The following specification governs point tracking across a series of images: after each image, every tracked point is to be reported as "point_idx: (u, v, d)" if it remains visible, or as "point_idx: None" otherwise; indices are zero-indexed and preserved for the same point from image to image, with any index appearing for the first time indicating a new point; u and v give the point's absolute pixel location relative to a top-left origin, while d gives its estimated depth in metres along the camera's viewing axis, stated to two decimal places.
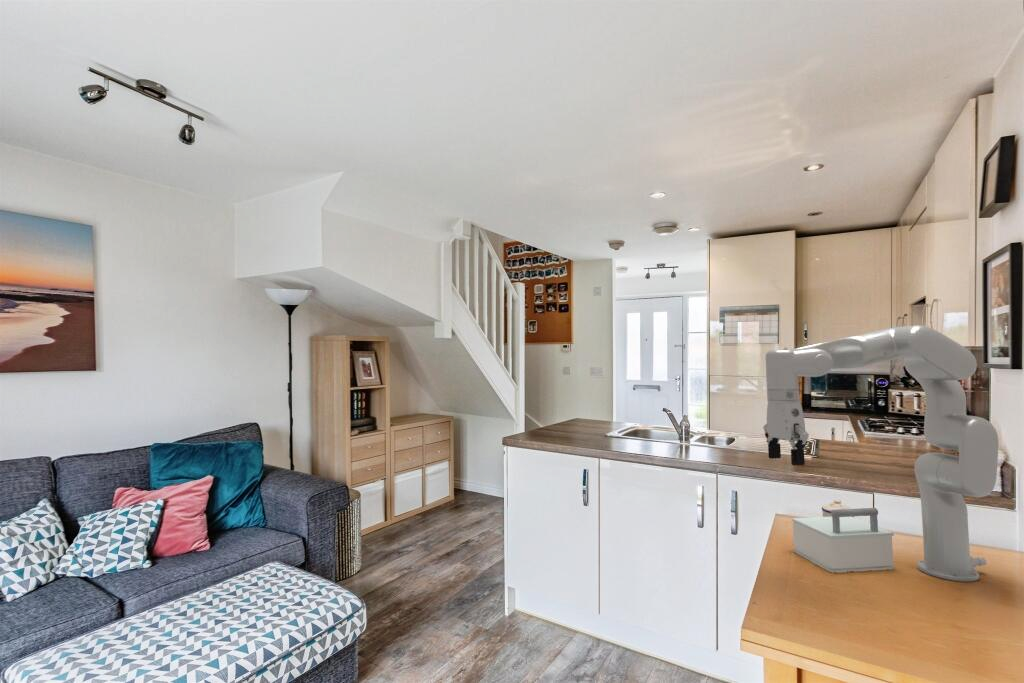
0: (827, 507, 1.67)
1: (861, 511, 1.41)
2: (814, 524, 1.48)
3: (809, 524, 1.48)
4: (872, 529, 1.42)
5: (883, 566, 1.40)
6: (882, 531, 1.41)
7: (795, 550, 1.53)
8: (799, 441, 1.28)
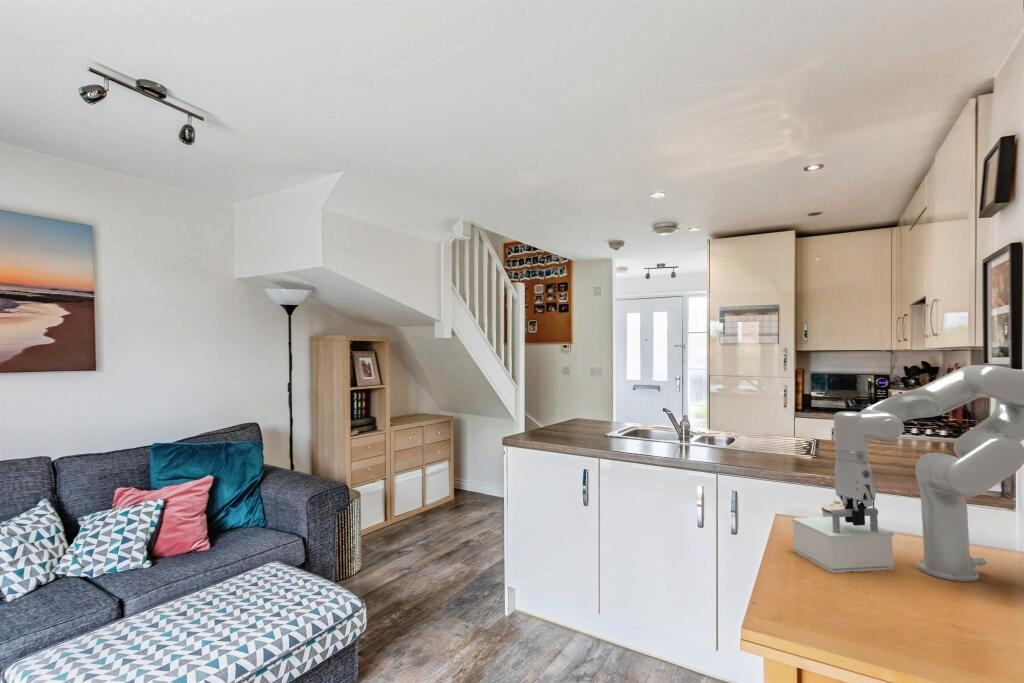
0: (827, 507, 1.67)
1: None
2: (814, 524, 1.48)
3: (809, 524, 1.48)
4: (872, 529, 1.42)
5: (883, 566, 1.40)
6: (882, 531, 1.41)
7: (795, 550, 1.53)
8: (861, 504, 1.38)
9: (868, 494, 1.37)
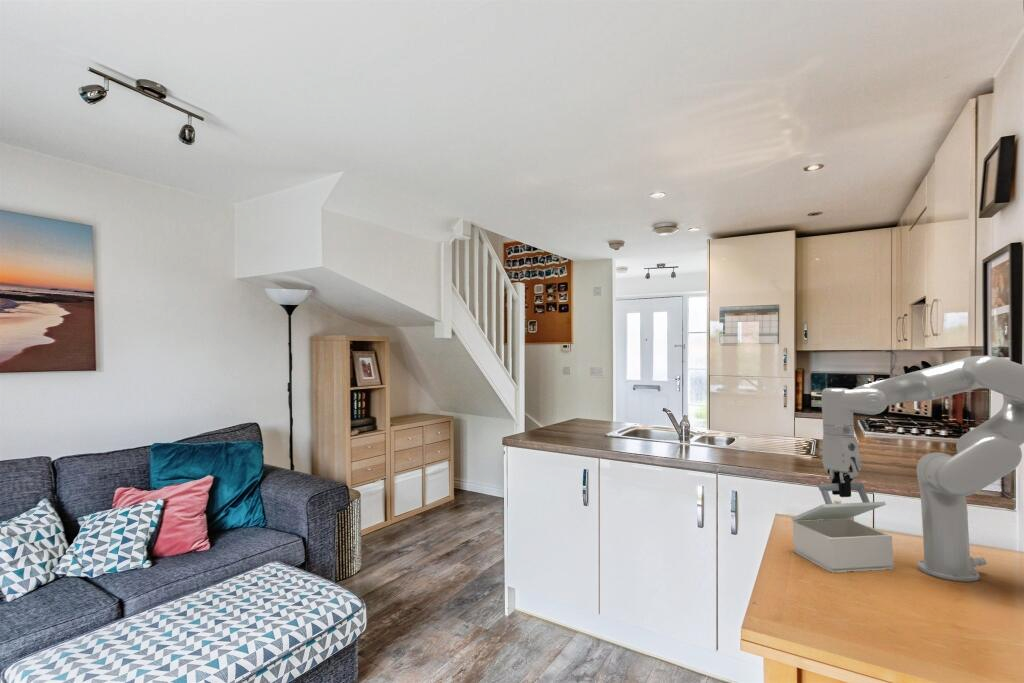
0: None
1: None
2: None
3: None
4: (864, 503, 1.44)
5: (883, 566, 1.40)
6: None
7: (795, 550, 1.53)
8: (847, 476, 1.43)
9: (854, 466, 1.42)
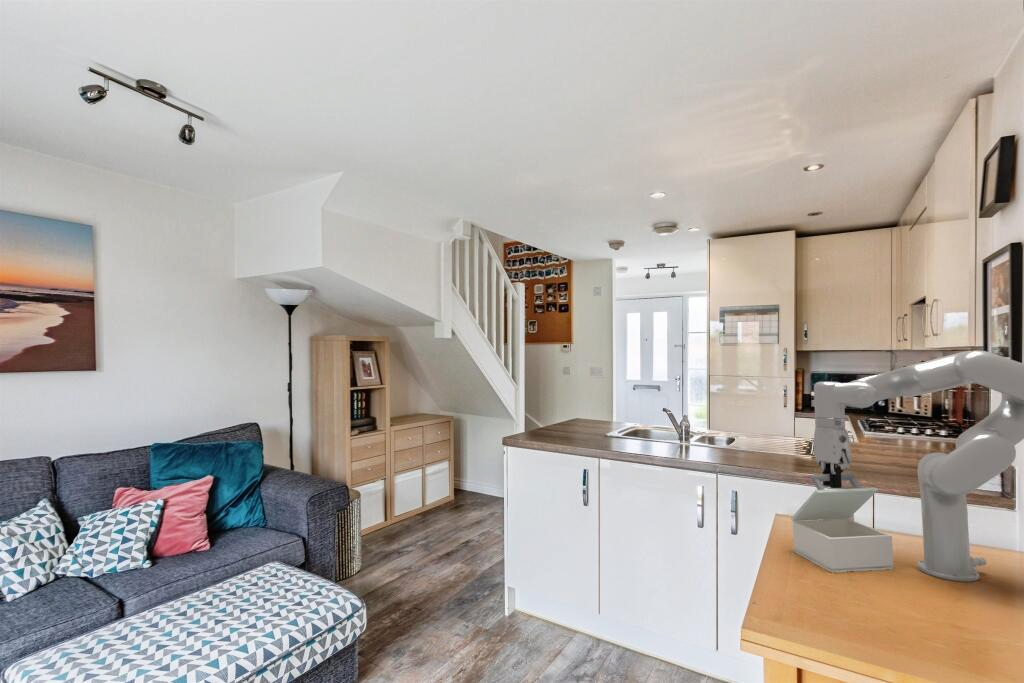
0: None
1: None
2: None
3: None
4: None
5: (883, 566, 1.40)
6: None
7: (795, 550, 1.53)
8: (838, 467, 1.46)
9: (844, 458, 1.45)
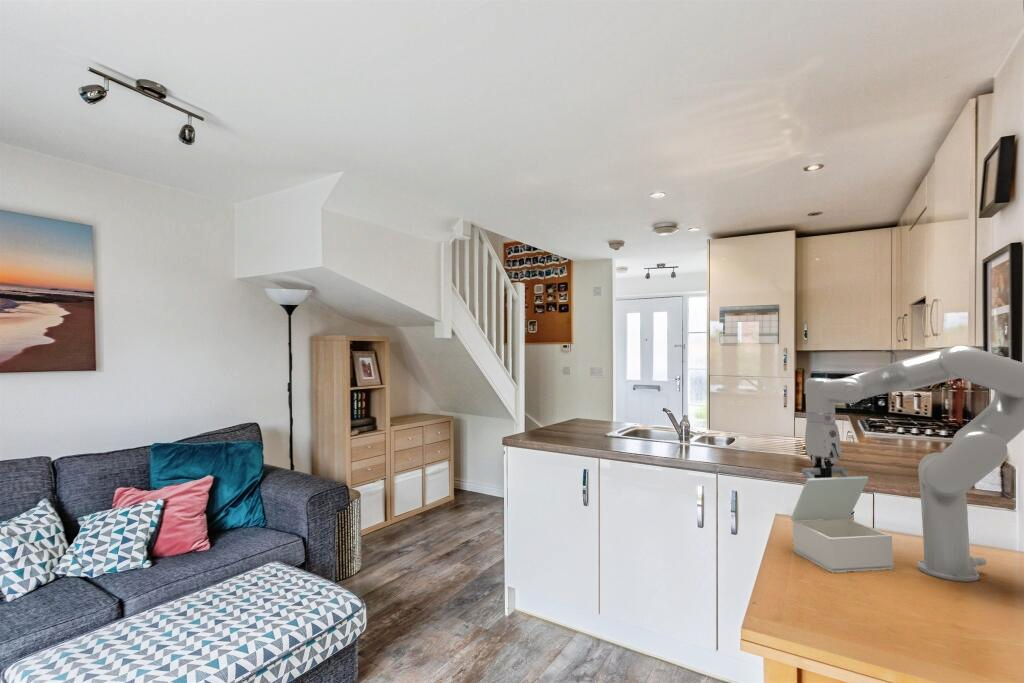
0: None
1: None
2: None
3: None
4: None
5: (883, 566, 1.40)
6: None
7: (795, 550, 1.53)
8: (828, 461, 1.50)
9: (834, 452, 1.49)
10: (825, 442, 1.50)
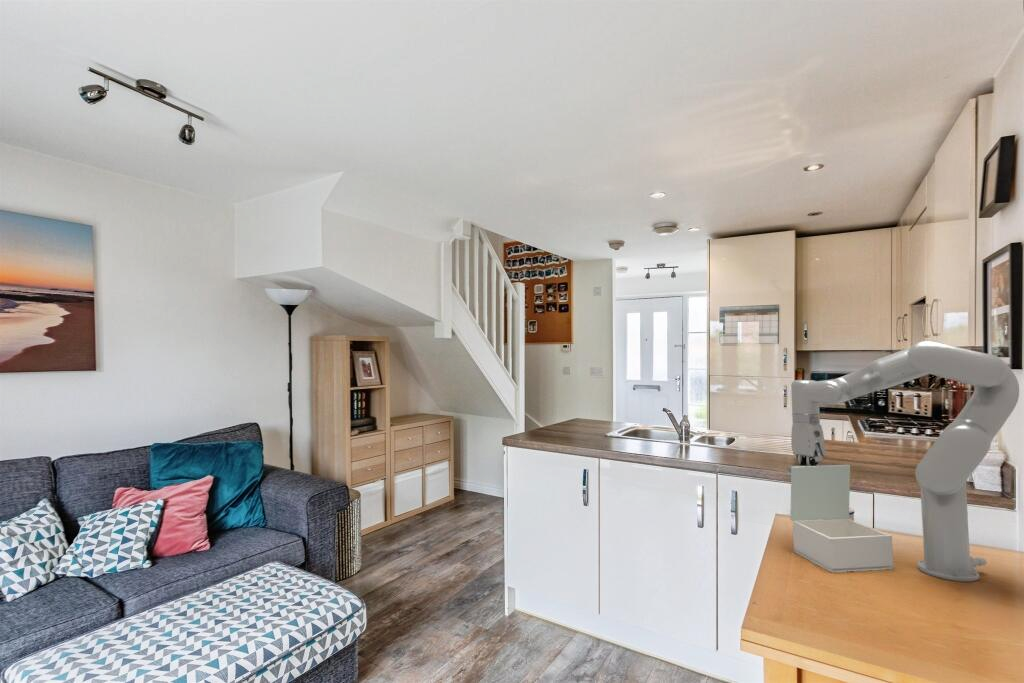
0: None
1: None
2: None
3: None
4: None
5: (883, 566, 1.40)
6: None
7: (795, 550, 1.53)
8: (812, 460, 1.57)
9: (818, 451, 1.56)
10: (810, 441, 1.57)
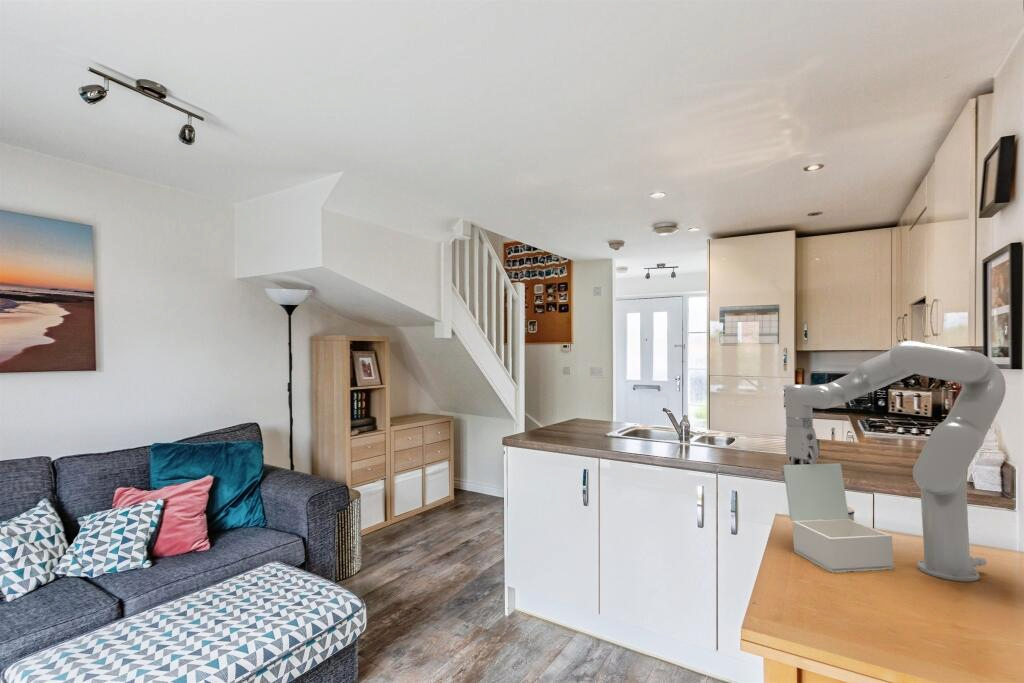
0: None
1: None
2: None
3: None
4: None
5: (883, 566, 1.40)
6: None
7: (795, 550, 1.53)
8: (807, 463, 1.60)
9: (811, 454, 1.59)
10: (803, 445, 1.60)
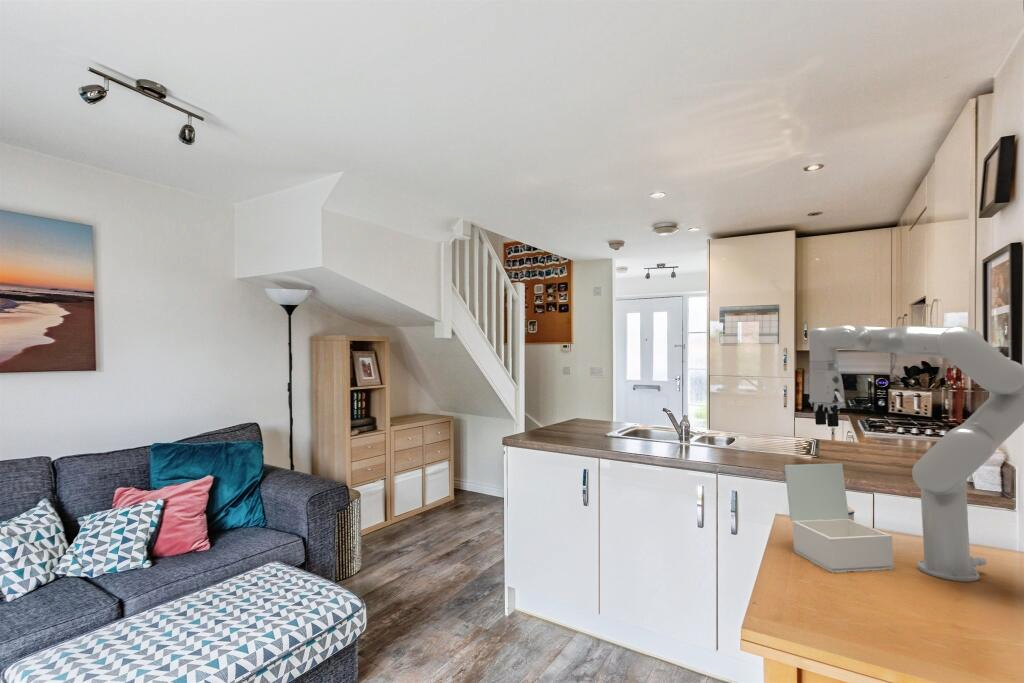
0: None
1: None
2: None
3: None
4: None
5: (883, 566, 1.40)
6: None
7: (795, 550, 1.53)
8: (834, 406, 1.55)
9: None
10: (828, 388, 1.55)
